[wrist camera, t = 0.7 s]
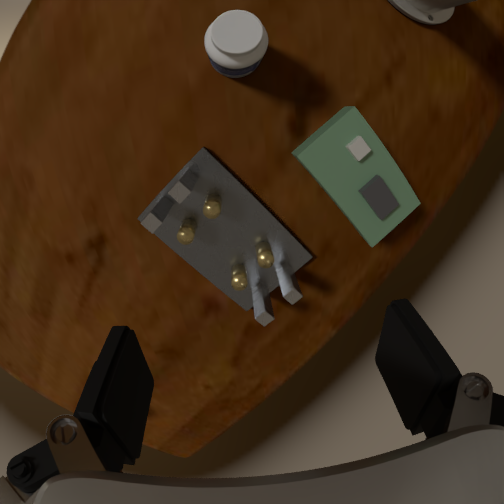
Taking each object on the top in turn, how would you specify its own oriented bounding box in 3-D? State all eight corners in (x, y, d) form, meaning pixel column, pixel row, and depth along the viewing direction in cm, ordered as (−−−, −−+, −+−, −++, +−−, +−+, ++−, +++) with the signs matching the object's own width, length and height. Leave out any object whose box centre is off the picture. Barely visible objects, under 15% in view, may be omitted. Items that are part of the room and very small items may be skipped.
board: (344, 106, 25) (358, 106, 22) (408, 196, 30) (424, 205, 27) (291, 153, 27) (298, 157, 24) (362, 237, 31) (375, 250, 28)
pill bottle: (264, 74, 28) (278, 58, 19) (214, 82, 28) (206, 68, 19) (257, 30, 26) (267, -2, 17) (206, 37, 26) (196, 8, 17)
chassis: (203, 146, 31) (196, 154, 25) (310, 253, 37) (326, 282, 31) (139, 215, 34) (120, 239, 28) (246, 306, 40) (249, 342, 34)
